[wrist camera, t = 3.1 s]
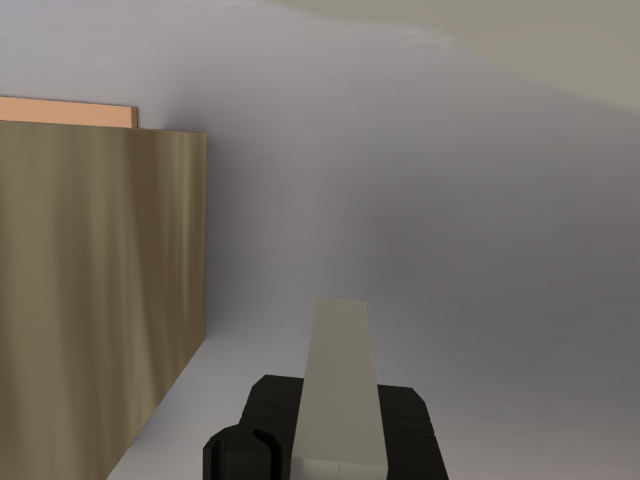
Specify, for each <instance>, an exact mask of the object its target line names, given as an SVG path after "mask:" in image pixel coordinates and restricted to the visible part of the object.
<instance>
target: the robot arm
mask: <svg viewBox="0 0 640 480" xmlns="http://www.w3.org/2000/svg"><path fill="white" fill-rule="evenodd" d="M203 480H449V478H448V475H447V472H446V469H445V465H444V462H443V459H442V456H441V452H440V449H439V446H438V443H437V440H436V436H434V430H433V427H432V423H431V422H430V417H429V414H428V410H427V407H426V404H425V402H424V401H423V400H422V399H421V397H420V396H419V395H418V394H417V393H416V392H415V391H414V390H413V388H408V387H398V386H388V385H378V384H377V381H376V374H375V367H374V359H373V352H372V345H371V337H370V330H369V323H368V315H367V308H366V301H356V300H345V299H335V298H324V297H317V303H316V309H315V316H314V322H313V328H312V334H311V340H310V346H309V352H308V359H307V365H306V371H305V377H304V378H295V377H285V376H275V375H264V376H263V377H262V378H261V379H260V380H259V381H258V382H257V383H255V384H254V385H253V386H252V389H251V391H250V394H249V397H248V400H247V404H246V405H245V408H244V410H243V413H242V418H241V419H240V421H239V424H237V425H234V426H230V427H227V428H224V429H223V430H221V431H220V432H218V433H217V434H215V435H214V436H212V437H211V438H210V440H209V441H208V442H207V444H206V445H205V446H204V448H203Z"/></svg>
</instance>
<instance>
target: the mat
mask: <svg viewBox="0 0 640 480" xmlns="http://www.w3.org/2000/svg"><path fill="white" fill-rule="evenodd" d="M0 120H8V121H25V122H42V123H58V124H75V125H92V126H108V127H125V128H137V108H133V107H123V106H110V105H98V104H86V103H73V102H61V101H48V100H36V99H23V98H11V97H0Z"/></svg>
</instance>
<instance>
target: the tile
mask: <svg viewBox="0 0 640 480" xmlns="http://www.w3.org/2000/svg"><path fill="white" fill-rule="evenodd" d="M206 179H207V133H196V132H183V131H171V130H159V129H142V128H125V127H108V126H92V125H75V124H58V123H42V122H25V121H8V120H0V480H106V479H107V477H108V476H109V475H110V473H111V472H112V470H113V469H114V467H115V466H116V465H117V463H118V462H119V460H120V459H121V457H122V456H123V455H124V453H125V452H126V450H127V449H128V448H129V446H130V445H131V443H132V442H133V440H134V439H135V438H136V436H137V435H138V433H139V432H140V431H141V429H142V428H143V426H144V425H145V423H146V422H147V421H148V419H149V418H150V416H151V415H152V413H153V412H154V411H155V409H156V408H157V406H158V405H159V404H160V402H161V401H162V399H163V398H164V396H165V395H166V394H167V392H168V391H169V389H170V388H171V386H172V385H173V384H174V382H175V381H176V379H177V378H178V377H179V375H180V374H181V372H182V371H183V369H184V368H185V367H186V365H187V364H188V362H189V361H190V359H191V358H192V357H193V355H194V354H195V352H196V351H197V350H198V348H199V347H200V345H201V344H202V342H203V341H204V340H205V263H206Z"/></svg>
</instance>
